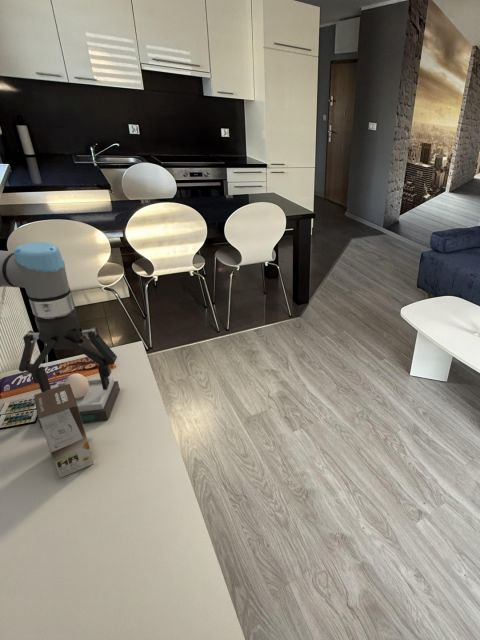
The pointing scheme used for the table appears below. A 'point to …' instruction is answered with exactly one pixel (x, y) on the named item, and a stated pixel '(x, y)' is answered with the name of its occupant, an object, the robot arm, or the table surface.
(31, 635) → the table surface
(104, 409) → the kitchen scale
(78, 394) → the egg
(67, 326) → the robot arm
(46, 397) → the coffee box
